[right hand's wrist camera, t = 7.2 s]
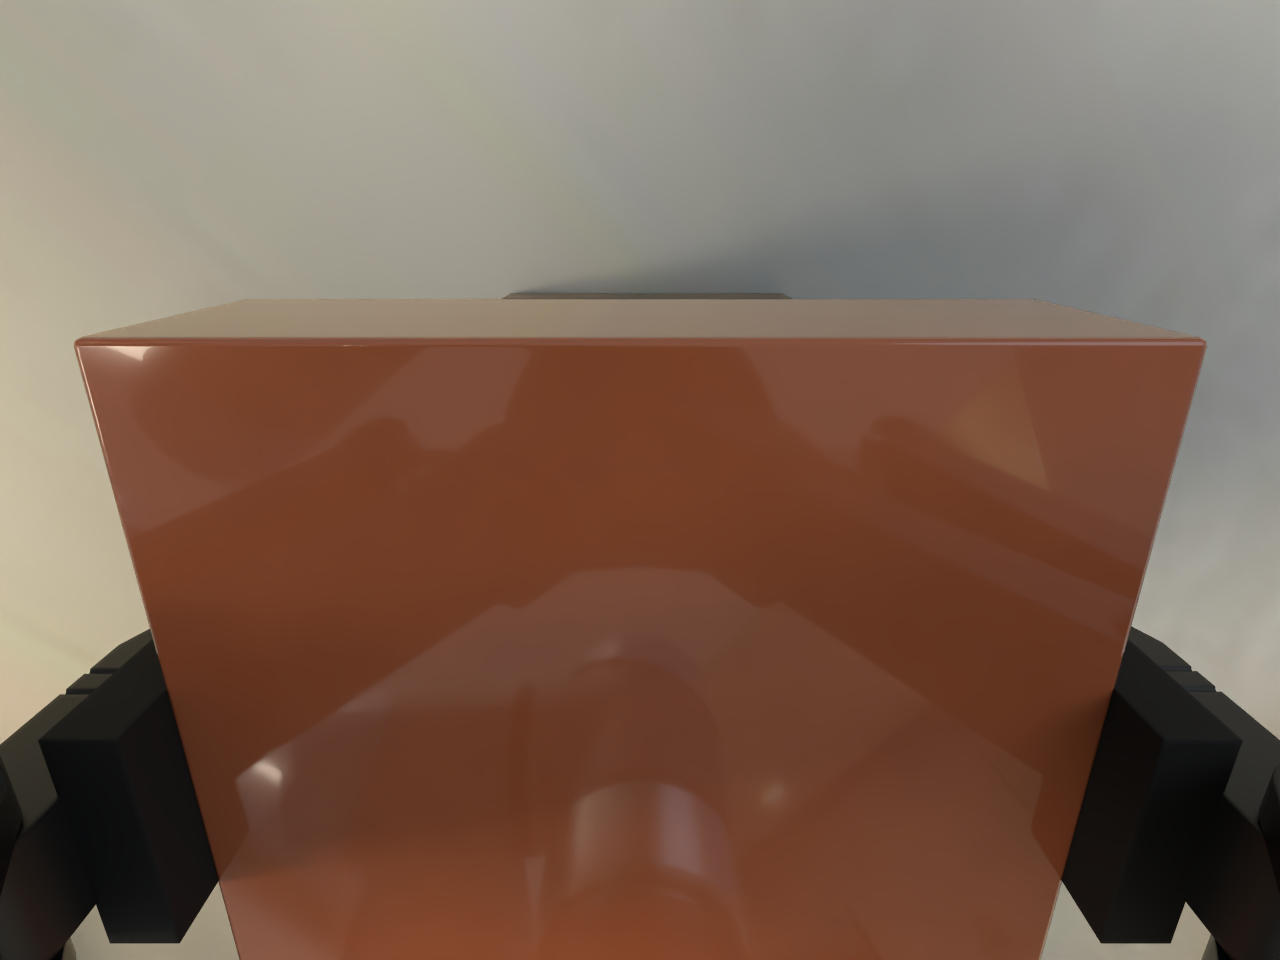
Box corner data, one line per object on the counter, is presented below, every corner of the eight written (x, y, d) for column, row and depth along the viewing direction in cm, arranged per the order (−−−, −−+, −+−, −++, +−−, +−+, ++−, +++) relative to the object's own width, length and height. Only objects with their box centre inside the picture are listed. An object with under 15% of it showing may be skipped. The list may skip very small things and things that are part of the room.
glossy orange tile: (376, 832, 14) (269, 1082, 10) (285, 288, 10) (68, 339, 6) (904, 832, 14) (1009, 1082, 10) (994, 288, 10) (1213, 339, 6)
